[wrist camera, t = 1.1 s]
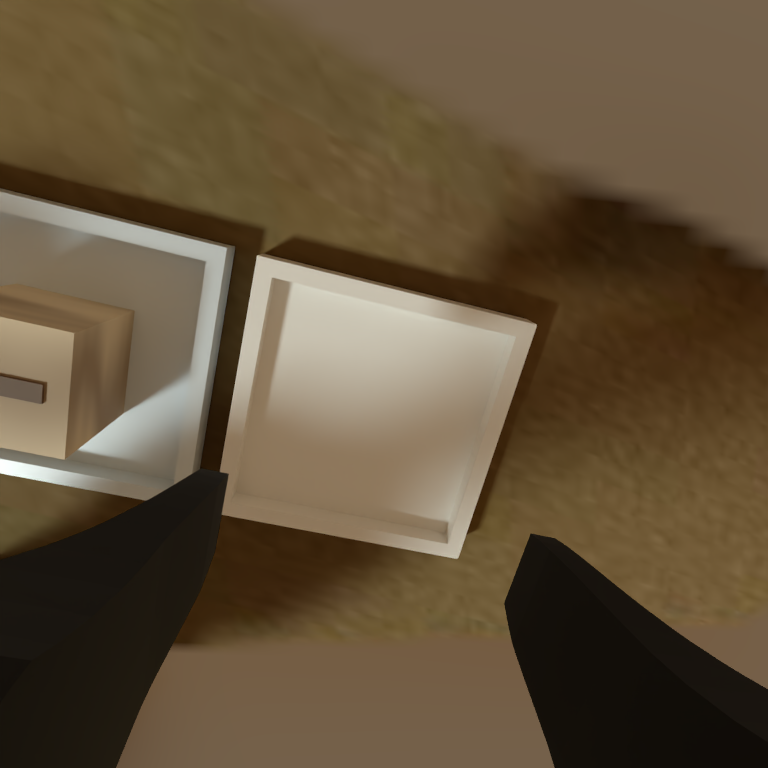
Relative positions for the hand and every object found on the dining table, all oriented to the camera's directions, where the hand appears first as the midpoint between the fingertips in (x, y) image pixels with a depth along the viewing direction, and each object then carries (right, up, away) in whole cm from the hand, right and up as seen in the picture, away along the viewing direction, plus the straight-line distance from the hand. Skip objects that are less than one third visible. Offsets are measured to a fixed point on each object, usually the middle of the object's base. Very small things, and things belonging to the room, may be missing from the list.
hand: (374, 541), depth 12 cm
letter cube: (-11, +5, +7) cm, 14 cm away
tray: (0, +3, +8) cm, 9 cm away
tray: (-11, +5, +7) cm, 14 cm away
